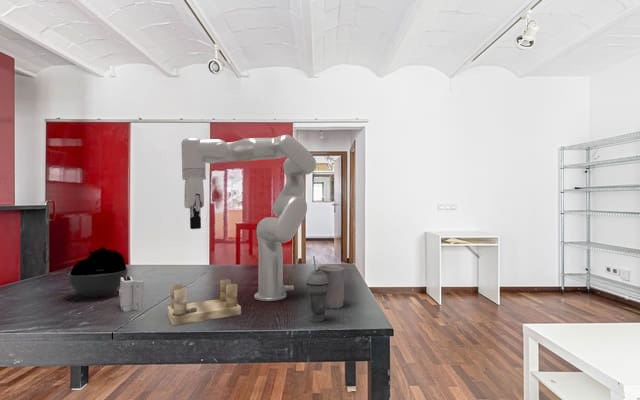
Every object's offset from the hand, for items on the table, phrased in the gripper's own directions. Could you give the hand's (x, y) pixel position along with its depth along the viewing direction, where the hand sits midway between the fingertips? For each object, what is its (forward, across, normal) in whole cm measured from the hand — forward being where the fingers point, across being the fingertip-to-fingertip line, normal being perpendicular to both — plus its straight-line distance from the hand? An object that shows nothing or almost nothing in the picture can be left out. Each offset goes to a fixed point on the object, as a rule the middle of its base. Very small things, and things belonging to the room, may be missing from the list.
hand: (195, 228), depth 113 cm
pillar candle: (+30, +17, +43) cm, 55 cm away
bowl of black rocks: (+28, -41, -30) cm, 58 cm away
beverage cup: (+30, +28, +31) cm, 51 cm away
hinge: (+28, -17, -20) cm, 38 cm away
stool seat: (+28, +4, +1) cm, 29 cm away
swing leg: (+25, +8, -5) cm, 27 cm away
